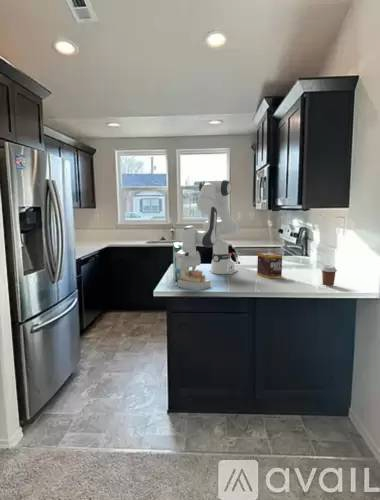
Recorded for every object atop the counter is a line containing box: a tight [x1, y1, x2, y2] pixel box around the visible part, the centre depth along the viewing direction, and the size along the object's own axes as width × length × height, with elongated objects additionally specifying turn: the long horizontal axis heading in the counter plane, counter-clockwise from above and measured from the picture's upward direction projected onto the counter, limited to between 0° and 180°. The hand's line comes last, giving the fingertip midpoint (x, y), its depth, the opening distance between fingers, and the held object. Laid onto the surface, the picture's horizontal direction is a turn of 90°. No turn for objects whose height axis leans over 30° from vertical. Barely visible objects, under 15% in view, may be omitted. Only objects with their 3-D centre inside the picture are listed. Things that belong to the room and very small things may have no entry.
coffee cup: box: [320, 265, 338, 287], centre depth 218 cm, size 9×9×12 cm
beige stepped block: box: [180, 269, 207, 283], centre depth 217 cm, size 6×15×5 cm, turn 52°
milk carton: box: [172, 241, 190, 282], centre depth 235 cm, size 9×9×25 cm
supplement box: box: [256, 252, 283, 279], centre depth 248 cm, size 10×15×16 cm
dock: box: [177, 279, 211, 292], centre depth 217 cm, size 12×16×4 cm
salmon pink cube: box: [193, 269, 203, 277], centre depth 215 cm, size 4×4×4 cm
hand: (188, 274), depth 219 cm, fingers closed on beige stepped block, 6 cm apart
